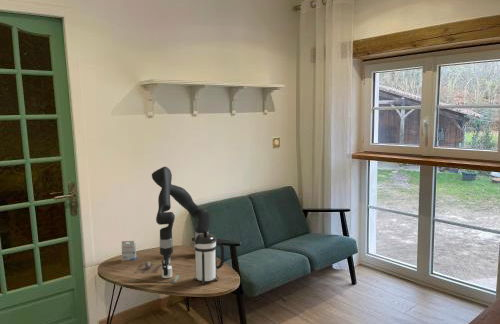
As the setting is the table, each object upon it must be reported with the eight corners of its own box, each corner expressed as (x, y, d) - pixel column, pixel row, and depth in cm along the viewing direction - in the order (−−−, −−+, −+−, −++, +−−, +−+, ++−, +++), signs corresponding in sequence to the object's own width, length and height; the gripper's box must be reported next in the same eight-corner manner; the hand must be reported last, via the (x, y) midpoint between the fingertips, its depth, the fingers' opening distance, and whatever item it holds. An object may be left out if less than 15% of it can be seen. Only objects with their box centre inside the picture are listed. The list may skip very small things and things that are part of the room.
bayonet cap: (163, 273, 224) (162, 264, 224) (173, 273, 224) (172, 264, 223) (160, 278, 218) (160, 268, 218) (171, 278, 218) (170, 268, 218)
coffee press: (216, 286, 211) (215, 235, 208) (189, 284, 215) (188, 233, 211) (224, 274, 228) (223, 226, 225) (199, 272, 231) (198, 225, 228)
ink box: (136, 259, 254) (135, 238, 252) (135, 262, 249) (134, 240, 247) (123, 259, 253) (123, 238, 252) (122, 262, 248) (121, 241, 247)
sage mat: (178, 275, 226) (178, 275, 226) (175, 283, 216) (175, 282, 216) (159, 276, 226) (159, 275, 226) (155, 283, 216) (155, 282, 216)
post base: (161, 266, 241) (161, 258, 241) (156, 275, 227) (156, 266, 227) (140, 266, 241) (139, 258, 240) (133, 275, 227) (133, 266, 227)
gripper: (162, 241, 226) (163, 268, 228) (156, 249, 212) (157, 278, 214) (175, 241, 226) (175, 268, 228) (170, 249, 212) (170, 278, 214)
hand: (167, 272), depth 221 cm, fingers closed on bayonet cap, 6 cm apart
